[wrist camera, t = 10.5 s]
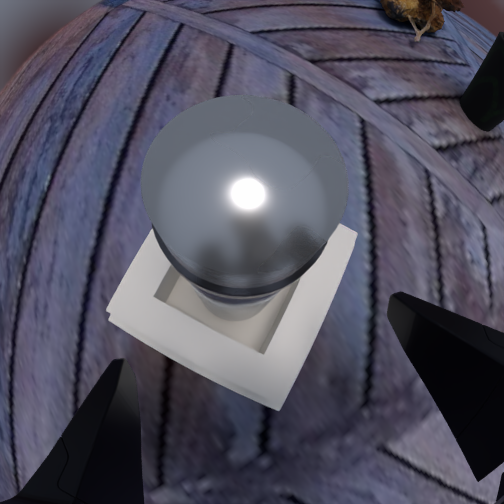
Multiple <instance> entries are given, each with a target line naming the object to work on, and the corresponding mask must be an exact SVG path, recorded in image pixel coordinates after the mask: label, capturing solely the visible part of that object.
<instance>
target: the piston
mask: <svg viewBox="0 0 504 504" xmlns="http://www.w3.org/2000/svg"><path fill="white" fill-rule="evenodd" d="M141 192H142V198H143V202H144V206H145V209H146V212H147V214H148V216H149V218H150V220H151V222H152V228H153V231H154V235H155V238H156V240H157V242H158V244H159V246H160V248H161V250H162V251H163V253H164V255H165V256H166V258H167V259H168V260H169V262H170V263H171V265H172V266H173V267H174V268H175V269H176V271H177V272H178V273H179V274H180V275H181V276H182V277H184V278H185V279H186V280H187V281H188V282H189V283H190V284H191V286H192V287H193V289H194V290H195V292H196V293H197V295H198V297H199V298H200V300H201V301H202V302H203V304H204V305H205V307H206V308H207V309H208V310H209V311H210V312H211V313H212V314H214V315H215V316H217V317H219V318H221V319H224V320H228V321H243V320H247V319H249V318H252V317H254V316H255V315H257V314H258V313H260V312H261V311H262V310H263V309H264V308H265V307H266V306H267V305H268V303H269V302H270V301H271V300H272V299H273V298H274V297H275V296H276V295H277V294H278V293H279V292H280V291H281V290H283V289H284V288H286V287H288V286H290V285H291V284H293V283H294V282H295V281H297V280H298V279H299V278H300V277H301V276H302V275H303V274H304V273H305V272H306V271H307V270H308V269H309V268H310V267H311V266H312V265H313V264H314V263H315V262H316V261H317V259H318V258H319V257H320V255H321V254H322V252H323V250H324V248H325V247H326V245H327V242H328V240H329V238H330V237H331V235H332V234H333V233H334V231H335V230H336V228H337V227H338V225H339V223H340V221H341V219H342V217H343V214H344V211H345V208H346V204H347V198H348V176H347V170H346V166H345V163H344V160H343V157H342V155H341V153H340V151H339V149H338V147H337V145H336V144H335V142H334V140H333V139H332V138H331V137H330V135H329V134H328V133H327V132H326V130H325V129H324V128H323V127H322V126H321V125H320V124H319V123H317V122H316V121H315V120H314V119H312V118H311V117H310V116H309V115H307V114H305V113H304V112H302V111H301V110H299V109H297V108H295V107H293V106H291V105H289V104H286V103H283V102H281V101H278V100H274V99H270V98H267V97H260V96H253V95H231V96H224V97H218V98H214V99H210V100H207V101H204V102H201V103H199V104H196V105H194V106H192V107H190V108H188V109H186V110H185V111H183V112H181V113H180V114H178V115H177V116H176V117H174V118H173V119H172V120H171V121H170V122H168V123H167V124H166V125H165V126H164V127H163V129H162V130H161V131H160V132H159V133H158V135H157V136H156V137H155V139H154V140H153V142H152V144H151V146H150V147H149V149H148V151H147V154H146V157H145V159H144V163H143V168H142V172H141Z"/></svg>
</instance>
